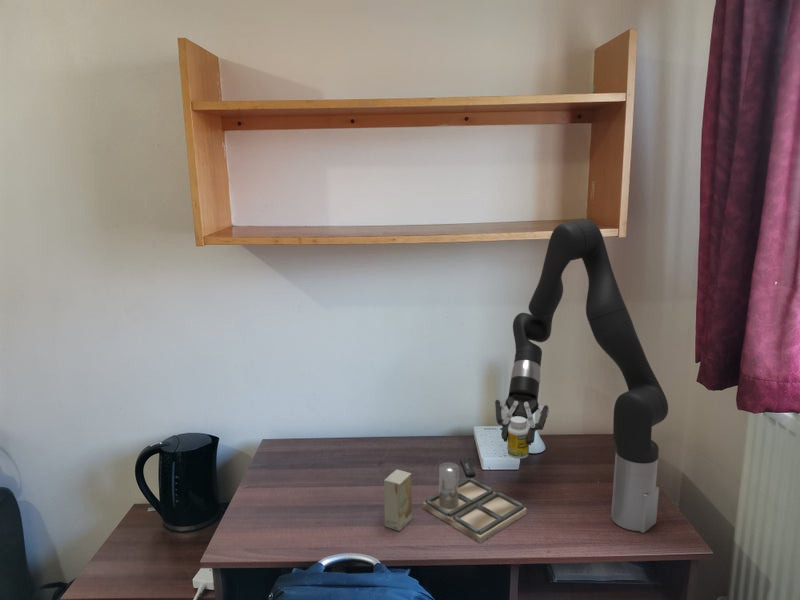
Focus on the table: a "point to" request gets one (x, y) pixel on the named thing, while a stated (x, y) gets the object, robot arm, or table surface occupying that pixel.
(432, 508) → the wooden compartment tray
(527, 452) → the supplement bottle
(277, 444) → the table surface
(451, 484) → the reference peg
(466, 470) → the usb stick
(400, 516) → the skincare box
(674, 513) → the table surface
